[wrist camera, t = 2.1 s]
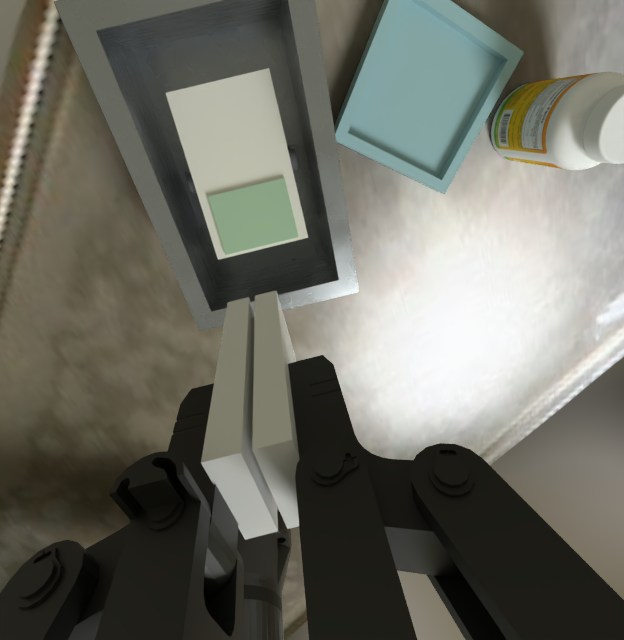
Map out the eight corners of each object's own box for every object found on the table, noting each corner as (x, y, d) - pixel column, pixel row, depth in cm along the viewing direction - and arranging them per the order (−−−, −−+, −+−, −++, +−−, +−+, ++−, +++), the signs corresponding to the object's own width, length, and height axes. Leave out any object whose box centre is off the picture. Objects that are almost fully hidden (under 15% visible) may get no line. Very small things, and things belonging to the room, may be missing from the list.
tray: (435, 190, 30) (444, 194, 28) (329, 138, 26) (333, 139, 25) (509, 55, 25) (524, 52, 24) (393, -24, 22) (402, -34, 21)
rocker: (312, 234, 24) (314, 236, 23) (216, 257, 24) (211, 261, 22) (276, 77, 22) (276, 65, 20) (168, 104, 21) (157, 93, 20)
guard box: (335, 251, 31) (359, 291, 24) (213, 281, 31) (199, 331, 24) (290, 0, 22) (305, -59, 15) (121, 40, 22) (53, 1, 15)
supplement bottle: (566, 119, 28) (697, 119, 20) (511, 174, 30) (610, 196, 21) (533, 64, 26) (665, 37, 18) (475, 126, 27) (571, 130, 19)
